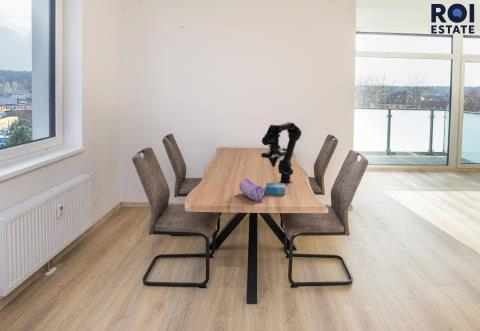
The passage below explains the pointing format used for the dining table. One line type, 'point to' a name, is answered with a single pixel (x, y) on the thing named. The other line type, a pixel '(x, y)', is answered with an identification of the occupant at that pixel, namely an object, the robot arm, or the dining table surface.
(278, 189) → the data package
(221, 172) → the dining table surface
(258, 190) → the pencil case
